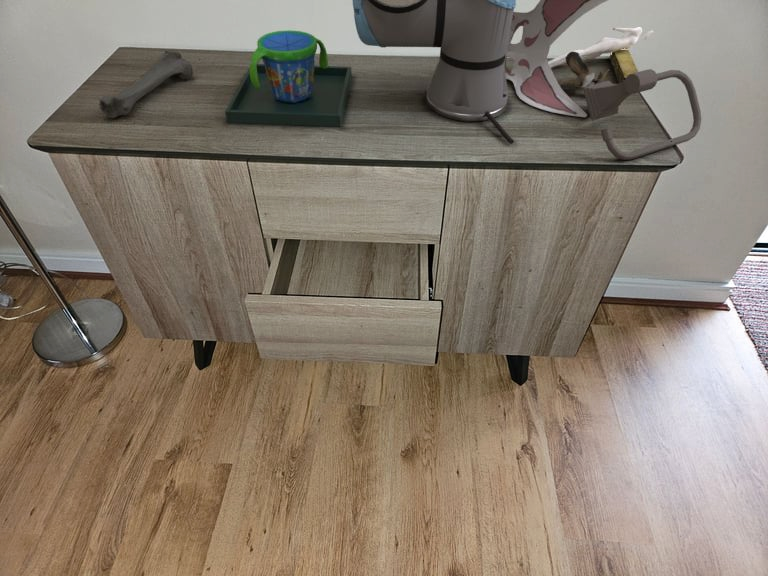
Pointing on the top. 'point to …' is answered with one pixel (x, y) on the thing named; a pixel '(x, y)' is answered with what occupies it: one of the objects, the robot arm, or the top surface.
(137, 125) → the top surface
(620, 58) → the decorative block
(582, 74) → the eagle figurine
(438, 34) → the robot arm
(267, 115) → the tray
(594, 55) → the figurine
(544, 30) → the mask
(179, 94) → the top surface
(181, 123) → the top surface
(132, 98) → the bone
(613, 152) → the toilet paper hanger
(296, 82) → the sippy cup
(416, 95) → the top surface
